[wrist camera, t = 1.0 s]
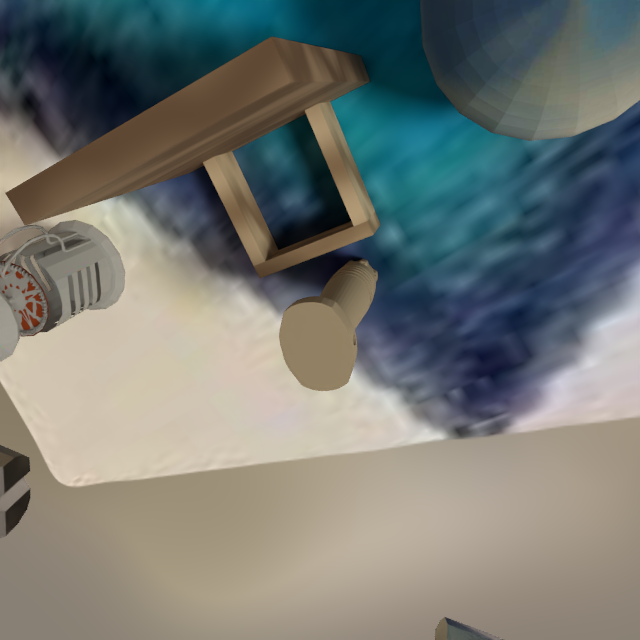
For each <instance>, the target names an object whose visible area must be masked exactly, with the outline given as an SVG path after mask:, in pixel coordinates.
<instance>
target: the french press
mask: <svg viewBox="0 0 640 640" xmlns="http://www.w3.org/2000/svg"><path fill="white" fill-rule="evenodd" d="M28 228H37V229H41V230H42V231H43V233H44V234H43V235H40V236H38V237H35V238H33V239H30V240H28V241H27V242H26V243H25V244H24V245H23V246H21V247H20V248H19V249H17V250H14V251H11V252H9V253H6V254H4V255H2V256H0V361H3V360H4V359H6V358H7V357H9V356H11V355H12V354H13V352H14V350H15V347H16V345H17V343H18V341H19V339H20V336H34V335H36V334H37V333H39V332H48V331H49V330H51V329H53V328H55V327H56V326H58V325H60V324H62V323H64V322H65V321H67V320H68V319H70V318H72V317H71V315H74V316H75V315H77V314H79V313H81V312H82V311H81V312H79V311H80V310H83V311H84V310H86V309H89V310H97V309H106V308H108V307H109V306H111V305H113V304H114V303H116V302H117V301H118V299H119V297H120V296H121V294H122V292H123V290H124V284H125V270H124V267H123V263H122V260H121V257H120V254H119V252H118V251H117V249H116V248H115V247H114V245H113V244H112V242H111V241H110V239H109V238H108V237H107V236H106V235H104V234H103V233H102V232H100V231H99V230H98V229H96V228H95V227H94V226H93V225H89V224H86V223H83V222H80V221H77V220H74V221H66V222H60V223H59V224H58V225H56V226H55V227H54V228H52V229H51V230H50V231H49V232H48V233H47V231H46V230H45V229H44V228H43V227H40V226H37V225H27V226H24V227H21V228H17V229H15V230H13V231H11V232H9V233H8V234H7V235H6V236H4V237H3V238H2V239H1V240H0V245H1V244H2V242H4V241H5V240H6V239H7V238H9V237H10V236H11V235H13V234H14V233H16V232H17V231H21V230H24V229H28ZM44 237H46V239H44V240H42V241H39V242H36V243H33V244H31V245H29V244H30V243H31V242H34V241H36V240H39V239H41V238H44ZM27 245H28V246H27ZM9 254H11V255H10V256H9V257H8V259H7V260H6V261H2V260H3V259H4V258H5V257H6V256H8V255H9ZM33 254H34V258H35V260H36V262H37V264H38V266H39V268H40V269H41V271H42V273H43V275H44V276H45V278H46V280H47V281H48V283H49V285H50V287H51V289H52V290H50V291H48V290H47V288H46V287H45V285H44V283H43V281H42V280H41V278H40V276H39V274H38V273H37V271H36V269H35V268H34V266H33V264H32V262H31V260H30V256H31V255H33ZM22 255H23V256H25V263H26V264H27V266H28V268H29V270H30V272H31V273H32V275H31V274H30V273H29V272H27V271H26V270H25V269H23V267H22V265H21V256H22ZM15 257H16V261H15V264H13V263H11V261H12V260H13V259H14V258H15ZM81 307H84V308H81ZM74 311H75V313H73V312H74ZM74 316H73V317H74ZM57 321H59V322H58V323H55V322H57Z"/></svg>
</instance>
